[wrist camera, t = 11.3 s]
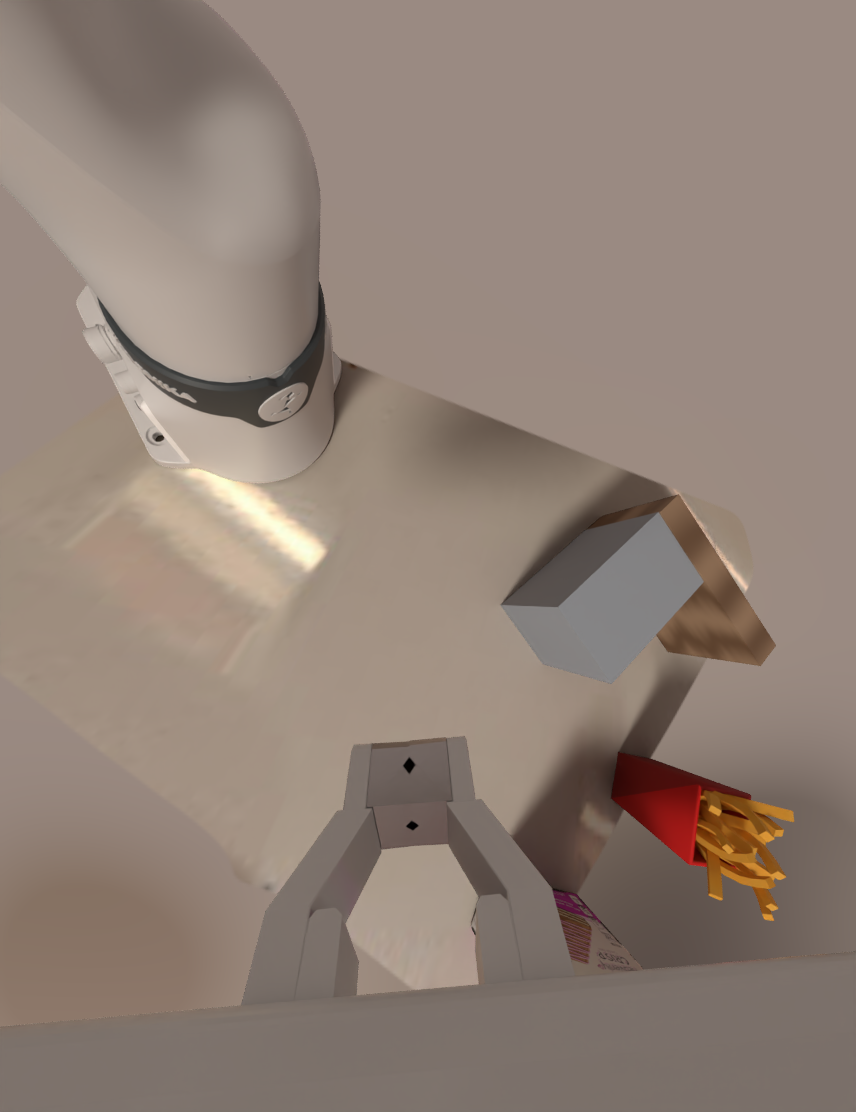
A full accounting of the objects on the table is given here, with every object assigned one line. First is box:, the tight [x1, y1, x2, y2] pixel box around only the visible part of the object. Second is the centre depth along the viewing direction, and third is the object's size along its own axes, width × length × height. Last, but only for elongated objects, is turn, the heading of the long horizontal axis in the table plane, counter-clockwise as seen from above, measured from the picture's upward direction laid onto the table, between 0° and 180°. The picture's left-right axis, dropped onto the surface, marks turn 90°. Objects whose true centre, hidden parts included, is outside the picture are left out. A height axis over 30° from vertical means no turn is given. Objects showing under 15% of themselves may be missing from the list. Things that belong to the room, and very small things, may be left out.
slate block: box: [501, 512, 704, 684], centre depth 38 cm, size 8×14×10 cm, turn 128°
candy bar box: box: [471, 889, 644, 976], centre depth 30 cm, size 11×5×16 cm, turn 70°
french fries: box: [611, 752, 794, 921], centre depth 35 cm, size 9×8×15 cm
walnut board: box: [587, 494, 776, 666], centre depth 41 cm, size 18×3×10 cm, turn 38°
